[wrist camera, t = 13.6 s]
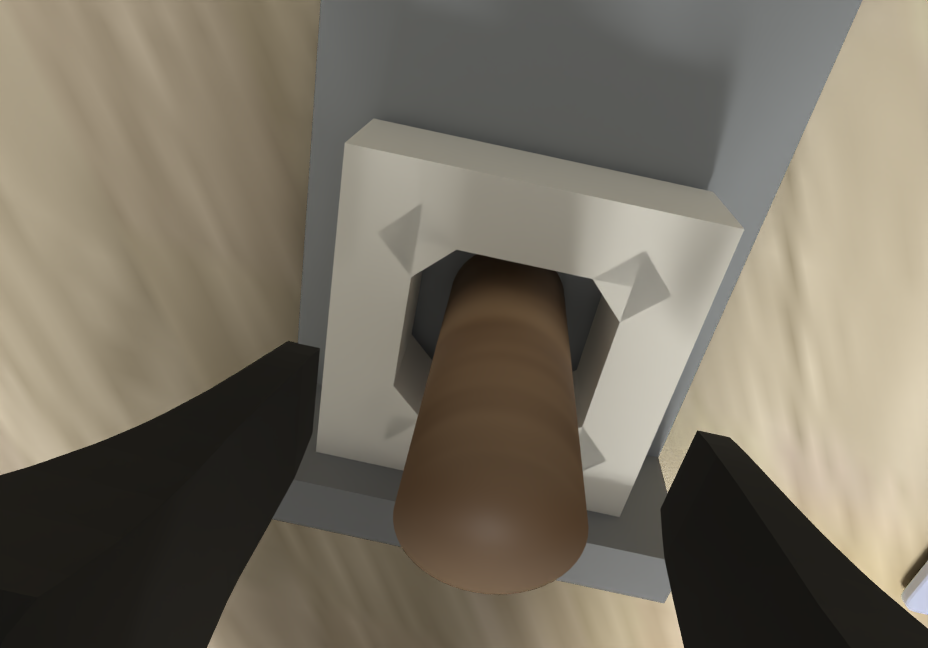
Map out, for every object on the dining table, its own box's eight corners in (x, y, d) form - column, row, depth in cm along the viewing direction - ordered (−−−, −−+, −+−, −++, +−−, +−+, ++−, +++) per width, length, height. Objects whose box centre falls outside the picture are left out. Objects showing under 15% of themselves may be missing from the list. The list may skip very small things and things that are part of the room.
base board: (933, -193, 12) (1135, -282, 8) (639, 480, 20) (664, 603, 16) (351, -320, 12) (257, -473, 8) (299, 407, 20) (240, 512, 16)
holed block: (713, 191, 15) (743, 229, 12) (609, 453, 18) (619, 517, 16) (373, 118, 14) (344, 142, 12) (342, 395, 18) (315, 451, 16)
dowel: (550, 357, 17) (562, 608, 10) (443, 337, 17) (384, 575, 10) (576, 257, 16) (611, 472, 9) (459, 236, 16) (404, 434, 9)
